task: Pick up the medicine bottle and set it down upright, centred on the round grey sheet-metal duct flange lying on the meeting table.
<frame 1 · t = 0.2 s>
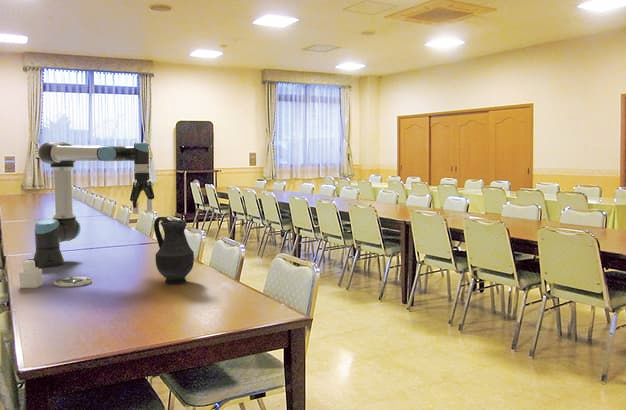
hand: (142, 212, 306), 28 cm above the table, fingers open, 13 cm apart
medicine bottle: (31, 286, 259), on the table
pitcher: (172, 282, 269), on the table
duct flange: (73, 283, 265), on the table
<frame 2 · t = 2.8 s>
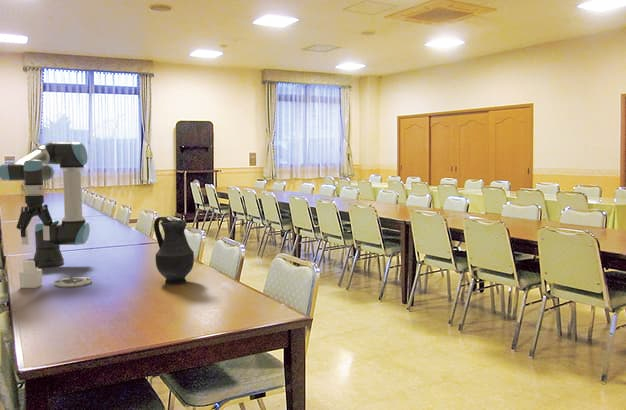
hand: (36, 242, 259), 19 cm above the table, fingers open, 13 cm apart
nothing on the table moved.
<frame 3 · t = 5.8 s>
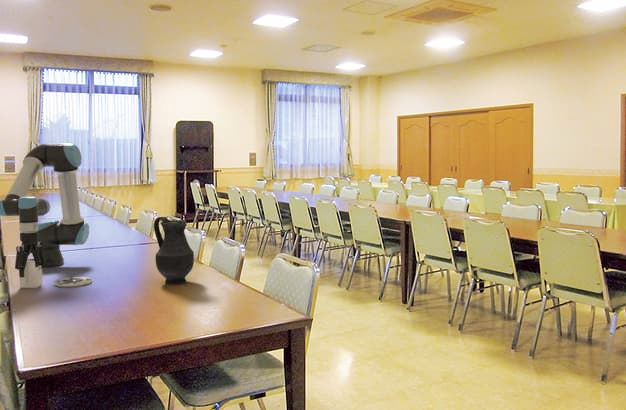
hand: (31, 282, 259), 2 cm above the table, fingers closed on medicine bottle, 9 cm apart
medicine bottle: (31, 286, 259), on the table, touching gripper
everything else where it was.
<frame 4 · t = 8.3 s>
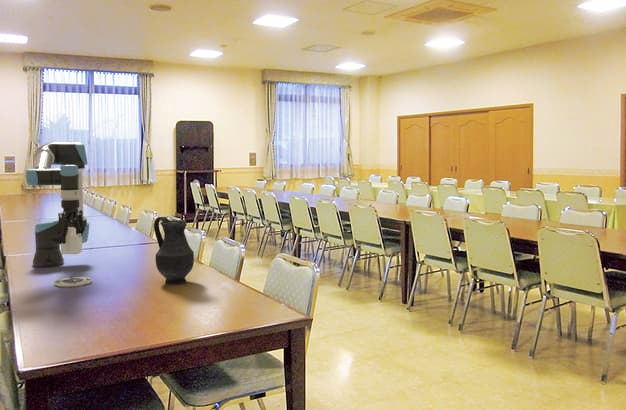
hand: (71, 248, 264), 16 cm above the table, fingers closed on medicine bottle, 9 cm apart
medicine bottle: (72, 253, 264), point 14 cm above the table, touching gripper
everything else where it was.
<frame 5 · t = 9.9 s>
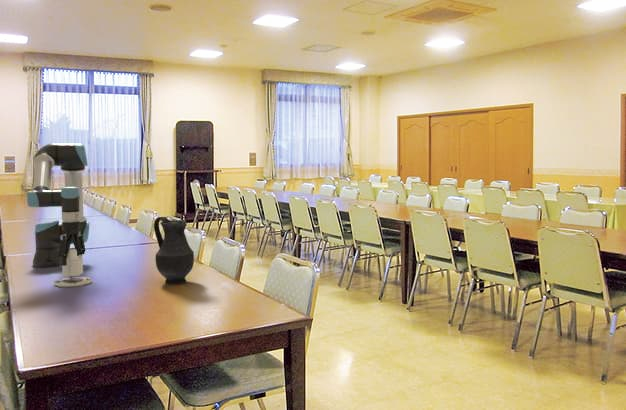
hand: (72, 270, 264), 6 cm above the table, fingers closed on medicine bottle, 9 cm apart
medicine bottle: (72, 275, 265), point 4 cm above the table, touching gripper
everything else where it was.
when the fingers open (5 cm above the table, at t = 11.1 s): medicine bottle drops 1 cm, resting on duct flange.
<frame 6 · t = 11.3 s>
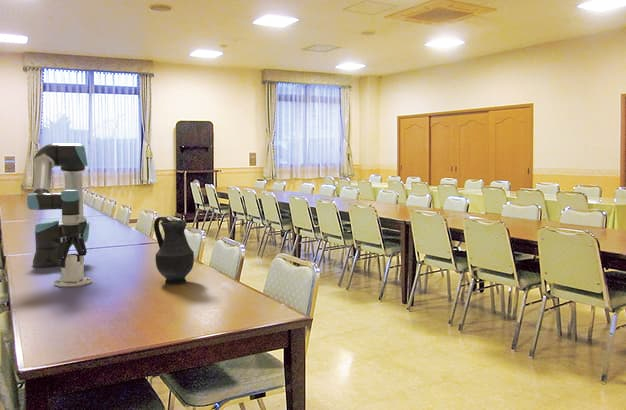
hand: (72, 272, 265), 5 cm above the table, fingers open, 11 cm apart
medicine bottle: (73, 280, 265), point 1 cm above the table, touching duct flange
everything else where it was.
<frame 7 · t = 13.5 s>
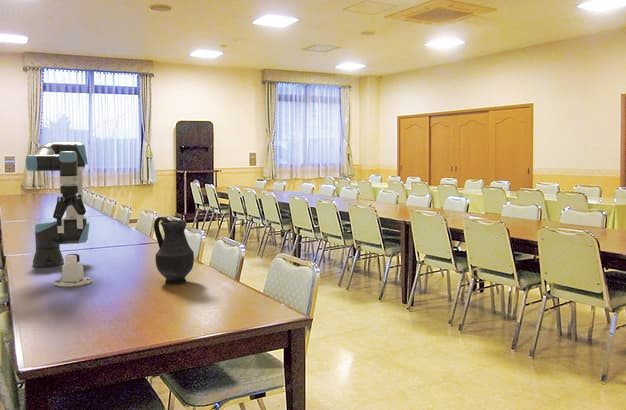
hand: (70, 230, 269), 23 cm above the table, fingers open, 13 cm apart
nothing on the table moved.
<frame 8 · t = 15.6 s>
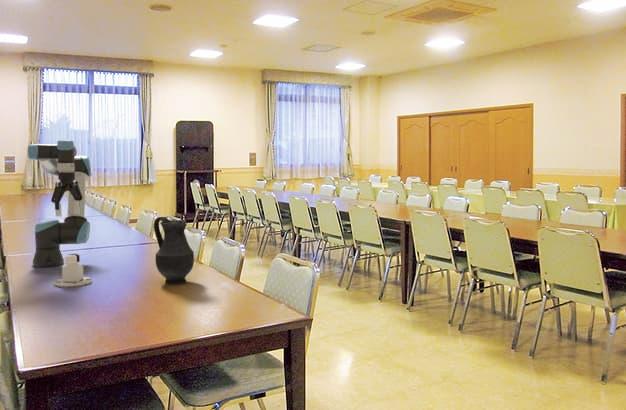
hand: (67, 215, 286), 29 cm above the table, fingers open, 13 cm apart
nothing on the table moved.
at the end: medicine bottle 0.1 cm from the duct flange (horizontally); medicine bottle tilted 0°; the gripper is holding nothing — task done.
